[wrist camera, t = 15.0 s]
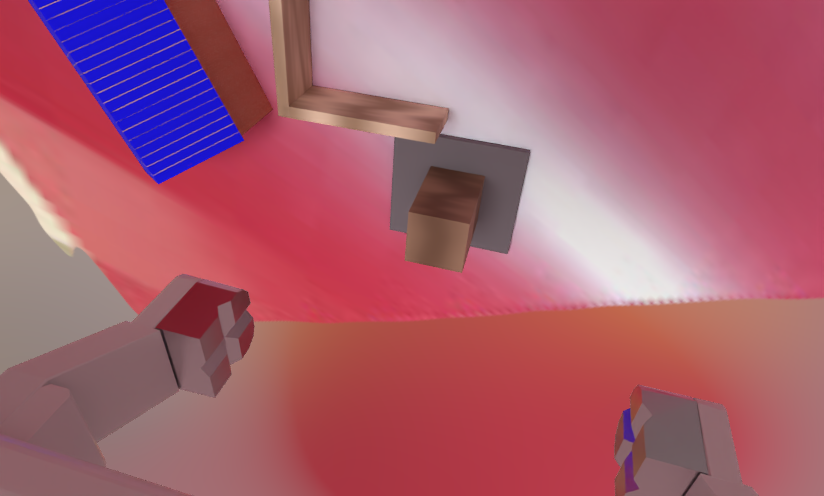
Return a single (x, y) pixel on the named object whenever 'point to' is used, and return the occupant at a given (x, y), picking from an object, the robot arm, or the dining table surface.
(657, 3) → the dining table surface
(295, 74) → the wooden open frame
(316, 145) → the dining table surface
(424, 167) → the mat
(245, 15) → the dining table surface
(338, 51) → the dining table surface
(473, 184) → the block
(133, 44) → the house
